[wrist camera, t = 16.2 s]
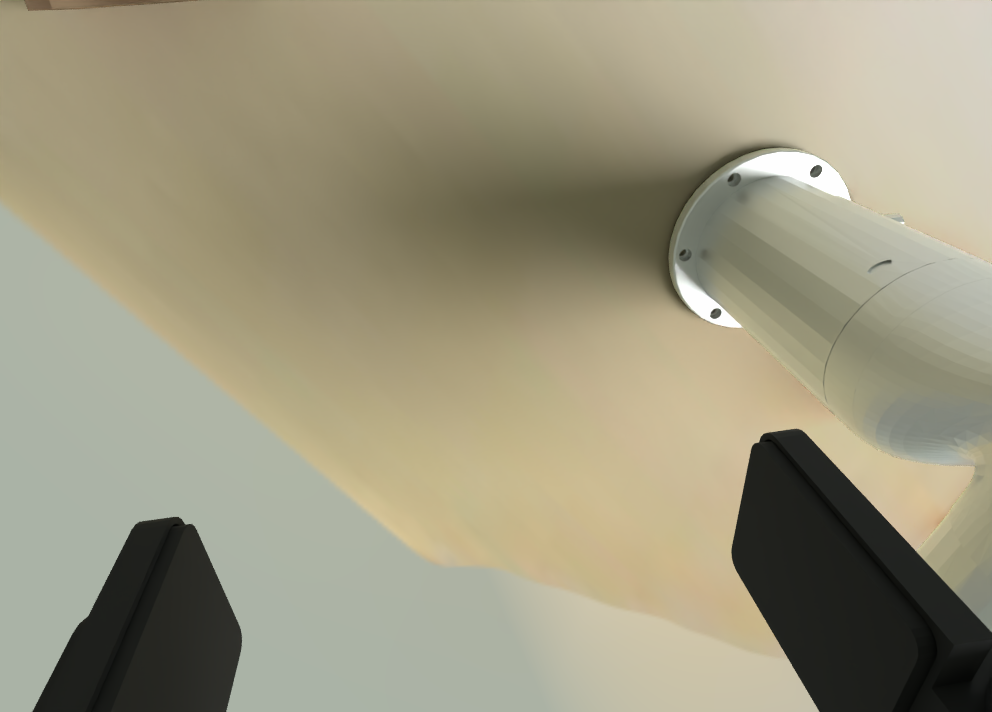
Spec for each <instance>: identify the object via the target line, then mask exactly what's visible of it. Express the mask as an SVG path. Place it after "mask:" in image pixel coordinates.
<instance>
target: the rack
mask: <svg viewBox="0 0 992 712" xmlns="http://www.w3.org/2000/svg"><path fill="white" fill-rule="evenodd" d="M24 1H25V3H26V6H27V8H28V11H33V10H65V9H85V8H99V7H113V6H127V5H141V4H155V3H169V2H183V1H197V0H24Z"/></svg>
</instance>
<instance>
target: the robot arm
mask: <svg viewBox="0 0 992 712" xmlns="http://www.w3.org/2000/svg"><path fill="white" fill-rule="evenodd" d="M730 175H731V177H730V178H729V176H730ZM728 178H729V179H728ZM682 250H683V252H682V253H680V252H681V251H682ZM669 272H670V275H671V279H672V283H673V286H674V288H675V290H676V291H677V293H678V295H679V297H680V298H681V300H682V301H683V302H684V303H685V304H686V305H687V306H688V308H689V309H690V310H692V311H693V312H694V313H695V314H696V315H697V316H699V317H700V318H702V319H704V320H705V321H707V322H709V323H712V324H716V325H719V326H723V327H732V328H744V329H745V330H746V331H747V332H748V333H749V334H750V335H751V336H752V337H753V338H754V339H755V340H756V341H757V342H758V343H759V344H760V345H762V346H763V347H764V348H765V349H766V350H767V351H768V352H769V353H770V354H771V355H772V356H773V357H774V358H775V359H776V360H777V361H778V362H779V363H780V364H781V365H782V366H784V367H785V368H786V369H787V370H788V371H789V372H790V373H791V374H792V375H793V376H794V377H795V378H796V379H797V380H798V381H799V382H800V383H801V384H802V385H803V386H804V387H805V388H807V389H808V390H809V391H810V392H811V393H812V394H813V395H814V396H815V397H816V398H817V399H818V400H819V401H820V402H821V403H822V404H823V405H824V406H825V407H826V408H827V409H829V410H830V411H831V412H832V413H833V414H834V415H835V416H836V417H837V418H838V419H839V420H840V421H841V422H842V423H843V424H844V425H845V426H846V427H847V428H848V429H849V430H850V431H852V432H853V433H854V434H855V435H856V436H857V437H859V438H860V439H861V440H862V441H864V442H865V443H867V444H868V445H870V446H872V447H874V448H875V449H877V450H879V451H881V452H883V453H886V454H888V455H891V456H893V457H896V458H899V459H903V460H908V461H913V462H918V463H924V464H933V465H945V466H975V472H974V475H973V477H972V479H971V481H970V483H969V485H968V486H967V487H966V489H965V490H964V491H963V493H962V494H961V495H960V497H959V498H958V499H957V501H956V502H955V503H954V504H953V505H952V507H951V509H950V512H949V513H948V514H947V515H946V517H945V518H944V519H943V520H942V521H941V522H940V524H939V525H938V526H937V527H936V528H935V530H934V531H933V532H932V533H931V534H930V535H929V537H928V538H927V539H926V540H925V541H924V543H923V544H922V545H921V546H920V547H919V548H918V550H917V551H915V550H914V549H913V548H912V547H911V545H910V544H909V543H908V542H907V541H906V540H905V539H904V538H903V537H902V536H901V535H900V534H899V533H898V532H897V531H896V529H895V528H894V527H893V526H892V525H891V524H890V523H889V522H888V521H887V520H886V519H885V518H884V517H883V516H882V514H881V513H880V512H879V511H878V510H877V509H876V508H875V507H874V506H873V505H872V504H871V503H870V502H869V501H868V500H867V498H866V497H865V496H864V495H863V494H862V493H861V492H860V491H859V490H858V489H857V488H856V487H855V486H854V485H853V484H852V482H851V481H850V480H849V479H848V478H847V477H846V476H845V475H844V474H843V473H842V472H841V471H840V470H839V469H838V468H837V466H836V465H835V464H834V463H833V462H832V461H831V460H830V459H829V458H828V457H827V456H826V455H825V454H824V453H823V452H822V450H821V449H820V448H819V447H818V446H817V445H816V444H815V443H814V442H813V441H812V440H811V439H810V438H809V437H808V436H807V434H806V433H804V432H803V431H802V430H799V429H791V430H784V431H777V432H770V433H765V434H763V435H762V436H761V438H760V441H759V443H755V444H754V445H753V446H752V449H751V454H750V459H749V464H748V469H747V474H746V479H745V484H744V489H743V494H742V499H741V504H740V509H739V514H738V519H737V524H736V529H735V534H734V540H733V545H732V552H731V553H732V560H733V564H734V566H735V569H736V571H737V573H738V574H739V576H740V578H741V580H742V581H743V583H744V585H745V586H746V588H747V590H748V591H749V593H750V595H751V596H752V598H753V600H754V602H755V603H756V605H757V607H758V608H759V610H760V612H761V613H762V615H763V617H764V618H765V620H766V622H767V624H768V625H769V627H770V629H771V630H772V632H773V634H774V635H775V637H776V639H777V640H778V642H779V644H780V646H781V647H782V649H783V651H784V652H785V654H786V656H787V657H788V659H789V661H790V662H791V664H792V666H793V668H794V669H795V671H796V673H797V674H798V676H799V678H800V679H801V681H802V683H803V684H804V686H805V688H806V690H807V691H808V693H809V695H810V696H811V698H812V700H813V701H814V703H815V705H816V706H817V708H818V710H819V712H992V263H990V262H987V261H985V260H983V259H981V258H978V257H976V256H974V255H972V254H969V253H967V252H965V251H963V250H960V249H958V248H956V247H954V246H951V245H949V244H947V243H945V242H942V241H940V240H938V239H936V238H933V237H931V236H929V235H927V234H925V233H922V232H920V231H918V230H916V229H913V228H911V227H909V226H907V225H904V220H903V217H902V216H901V215H900V214H887V215H882V214H880V213H877V212H875V211H873V210H871V209H868V208H866V207H864V206H862V205H859V204H857V203H855V202H853V201H851V199H850V196H849V193H848V190H847V186H846V184H845V182H844V181H843V179H842V178H841V176H840V175H839V173H838V172H837V171H836V170H835V169H834V168H833V167H832V166H831V165H830V164H829V163H828V162H827V161H825V160H823V159H821V158H819V157H817V156H815V155H813V154H810V153H807V152H804V151H801V150H798V149H791V148H782V147H780V148H770V149H762V150H759V151H755V152H752V153H749V154H745V155H743V156H741V157H739V158H737V159H735V160H733V161H731V162H729V163H727V164H726V165H724V166H723V167H722V168H720V169H719V170H718V171H716V172H715V173H713V174H712V175H711V176H710V177H709V178H708V179H707V180H706V181H705V182H704V183H703V184H702V185H701V186H700V187H699V188H698V189H697V190H696V191H695V192H694V194H693V195H692V197H691V198H690V199H689V201H688V202H687V203H686V205H685V206H684V208H683V210H682V212H681V214H680V216H679V218H678V220H677V222H676V225H675V228H674V231H673V234H672V237H671V241H670V248H669ZM241 646H242V635H241V629H240V626H239V624H238V622H237V620H236V617H235V615H234V613H233V610H232V608H231V606H230V604H229V602H228V599H227V597H226V595H225V593H224V590H223V588H222V586H221V584H220V581H219V579H218V577H217V575H216V572H215V570H214V568H213V566H212V563H211V561H210V559H209V557H208V554H207V552H206V550H205V548H204V546H203V543H202V541H201V539H200V537H199V534H198V533H197V530H196V528H195V526H193V525H192V524H188V525H185V524H184V522H183V521H182V519H180V518H179V517H171V518H164V519H157V520H149V521H142V522H139V523H137V524H136V525H135V526H134V528H133V529H132V530H131V532H130V534H129V536H128V538H127V540H126V542H125V545H124V546H123V548H122V550H121V552H120V554H119V556H118V558H117V560H116V562H115V564H114V566H113V568H112V570H111V572H110V574H109V576H108V578H107V580H106V582H105V584H104V586H103V588H102V590H101V592H100V594H99V596H98V598H97V600H96V602H95V604H94V606H93V608H92V610H91V612H90V614H89V616H88V617H87V618H86V619H84V620H83V621H82V622H81V623H80V624H79V625H78V627H77V628H76V630H75V631H74V633H73V634H72V636H71V638H70V640H69V642H68V644H67V646H66V648H65V649H64V652H63V653H62V655H61V658H60V659H59V661H58V663H57V665H56V667H55V669H54V671H53V673H52V675H51V677H50V679H49V681H48V683H47V684H46V686H45V688H44V690H43V692H42V694H41V696H40V698H39V700H38V702H37V704H36V706H35V708H34V710H33V712H226V710H227V706H228V702H229V698H230V694H231V690H232V686H233V681H234V677H235V673H236V669H237V665H238V661H239V656H240V652H241Z"/></svg>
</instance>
